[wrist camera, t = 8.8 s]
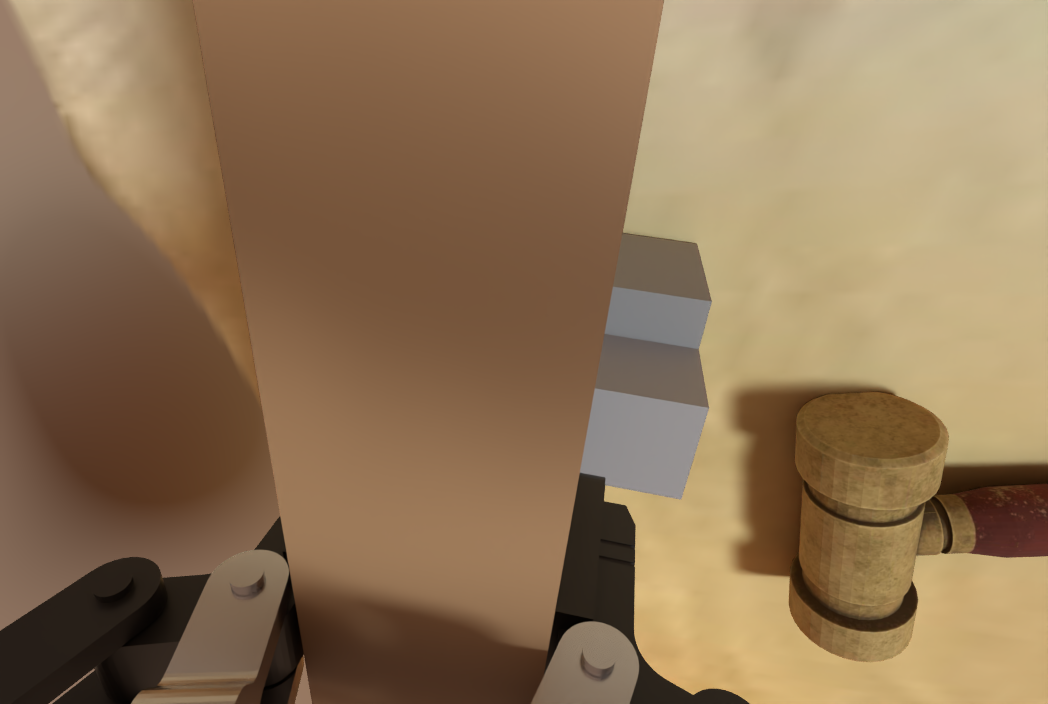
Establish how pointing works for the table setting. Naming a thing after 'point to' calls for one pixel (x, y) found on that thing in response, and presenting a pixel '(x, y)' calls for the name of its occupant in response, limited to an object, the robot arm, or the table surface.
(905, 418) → the gavel
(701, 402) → the steps
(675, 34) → the table surface
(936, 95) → the table surface
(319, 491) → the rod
